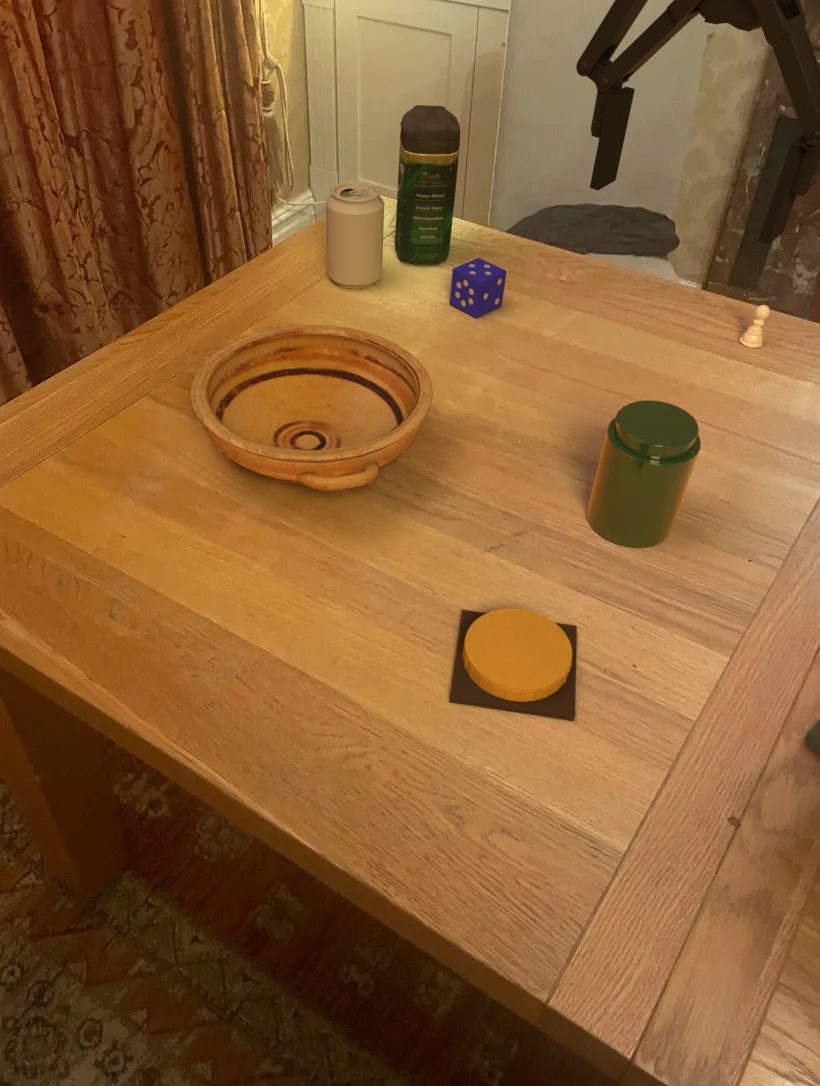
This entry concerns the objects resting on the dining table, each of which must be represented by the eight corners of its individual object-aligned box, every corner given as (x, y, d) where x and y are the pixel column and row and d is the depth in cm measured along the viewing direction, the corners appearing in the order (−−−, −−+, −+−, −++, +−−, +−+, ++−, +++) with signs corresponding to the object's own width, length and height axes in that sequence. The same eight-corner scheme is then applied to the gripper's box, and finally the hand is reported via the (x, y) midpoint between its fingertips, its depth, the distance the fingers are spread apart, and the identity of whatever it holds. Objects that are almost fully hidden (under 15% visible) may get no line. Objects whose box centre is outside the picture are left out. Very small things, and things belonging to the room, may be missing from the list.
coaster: (575, 630, 79) (577, 625, 79) (573, 721, 72) (575, 716, 72) (461, 614, 80) (462, 609, 80) (449, 702, 73) (449, 697, 73)
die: (474, 292, 122) (478, 256, 118) (502, 306, 119) (507, 270, 116) (448, 304, 119) (452, 268, 116) (476, 319, 117) (480, 282, 113)
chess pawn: (734, 339, 115) (747, 302, 111) (751, 335, 116) (764, 298, 112) (749, 350, 113) (763, 313, 109) (767, 345, 114) (781, 309, 110)
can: (336, 262, 127) (336, 173, 118) (388, 270, 126) (391, 181, 117) (319, 286, 122) (317, 196, 113) (372, 295, 121) (375, 204, 112)
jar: (669, 498, 92) (702, 402, 84) (674, 553, 86) (709, 455, 78) (586, 487, 93) (610, 391, 85) (585, 541, 87) (611, 444, 79)
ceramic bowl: (183, 388, 104) (173, 324, 98) (386, 363, 109) (388, 301, 103) (221, 560, 84) (212, 493, 79) (467, 520, 89) (476, 454, 83)
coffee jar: (452, 268, 127) (465, 125, 113) (396, 267, 126) (402, 124, 113) (446, 237, 133) (458, 99, 120) (393, 237, 133) (398, 98, 120)
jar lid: (441, 664, 75) (442, 650, 74) (501, 605, 80) (503, 592, 79) (531, 721, 71) (534, 707, 70) (589, 656, 76) (593, 642, 75)
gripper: (562, -180, 55) (514, 178, 71) (997, -130, 45) (830, 280, 60) (622, -188, 59) (565, 152, 75) (1034, -144, 49) (869, 243, 64)
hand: (682, 209), depth 67 cm, fingers open, 13 cm apart
